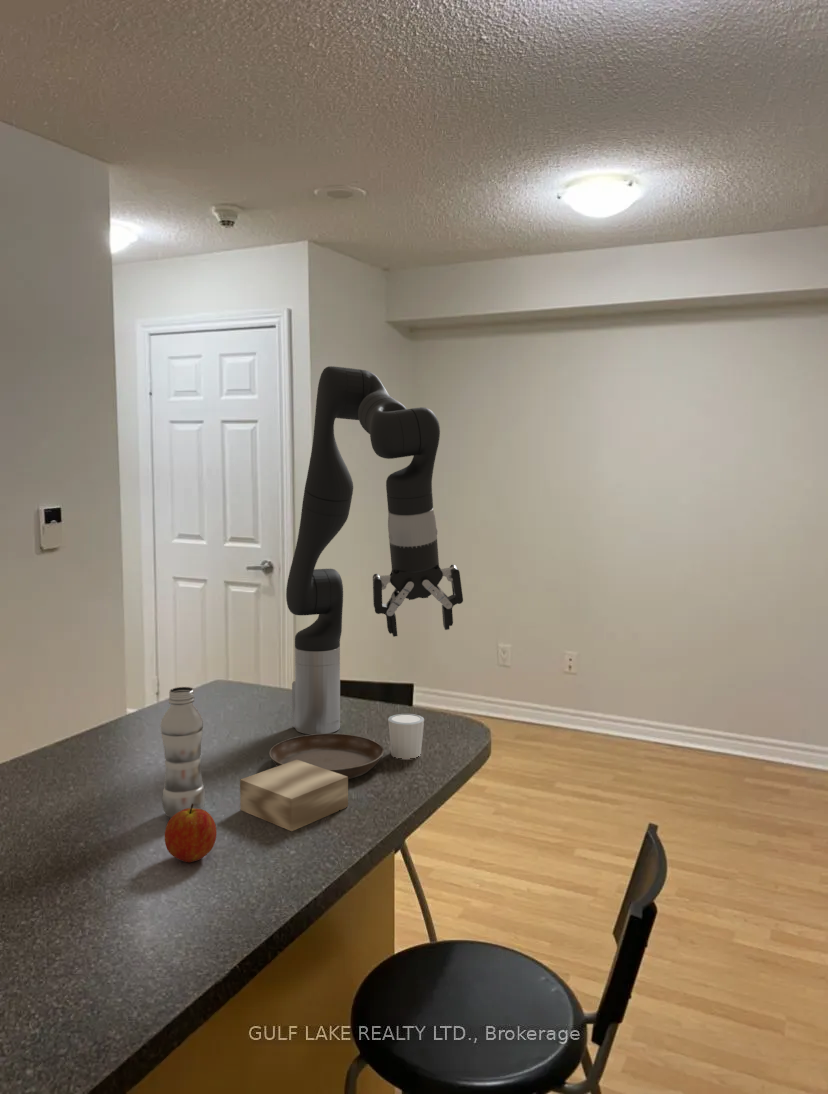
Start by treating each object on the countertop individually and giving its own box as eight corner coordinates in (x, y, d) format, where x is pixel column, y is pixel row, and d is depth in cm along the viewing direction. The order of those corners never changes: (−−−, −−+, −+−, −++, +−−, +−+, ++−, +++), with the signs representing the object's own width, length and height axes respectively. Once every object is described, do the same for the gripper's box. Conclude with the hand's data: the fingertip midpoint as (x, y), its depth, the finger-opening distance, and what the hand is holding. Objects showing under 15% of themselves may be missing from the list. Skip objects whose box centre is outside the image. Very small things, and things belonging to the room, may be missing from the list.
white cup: (425, 749, 163) (425, 713, 162) (422, 761, 156) (422, 724, 156) (390, 747, 164) (390, 712, 163) (385, 759, 157) (385, 723, 156)
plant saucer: (322, 741, 168) (322, 725, 168) (406, 762, 156) (406, 745, 156) (245, 771, 151) (245, 753, 151) (332, 798, 139) (332, 778, 139)
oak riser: (240, 810, 134) (240, 779, 133) (296, 788, 143) (296, 759, 142) (291, 831, 126) (291, 799, 125) (347, 806, 135) (347, 776, 135)
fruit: (154, 865, 115) (153, 809, 114) (184, 844, 121) (183, 790, 121) (197, 874, 113) (196, 816, 112) (226, 852, 119) (225, 797, 118)
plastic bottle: (214, 810, 134) (212, 686, 132) (189, 827, 127) (186, 697, 125) (179, 804, 136) (176, 682, 134) (153, 821, 129) (150, 693, 127)
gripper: (453, 525, 136) (459, 617, 142) (365, 534, 135) (374, 627, 140) (462, 538, 129) (467, 635, 135) (369, 549, 128) (379, 646, 133)
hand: (420, 631), depth 137 cm, fingers open, 8 cm apart
